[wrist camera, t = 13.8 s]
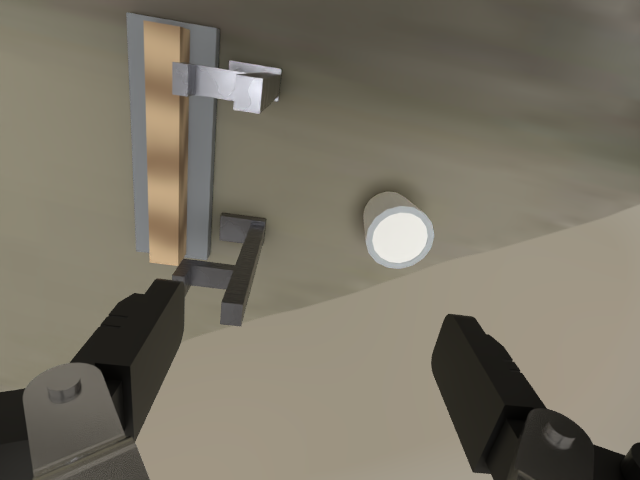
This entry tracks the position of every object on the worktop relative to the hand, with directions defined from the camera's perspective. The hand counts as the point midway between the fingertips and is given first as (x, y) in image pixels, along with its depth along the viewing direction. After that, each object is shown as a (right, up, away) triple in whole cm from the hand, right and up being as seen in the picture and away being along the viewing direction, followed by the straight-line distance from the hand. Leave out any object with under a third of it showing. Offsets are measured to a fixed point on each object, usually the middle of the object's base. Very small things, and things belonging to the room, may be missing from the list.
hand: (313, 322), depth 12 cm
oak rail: (-15, +12, +28) cm, 34 cm away
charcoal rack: (-7, +11, +30) cm, 33 cm away
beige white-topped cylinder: (+8, +6, +33) cm, 35 cm away
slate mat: (-15, +12, +29) cm, 35 cm away
